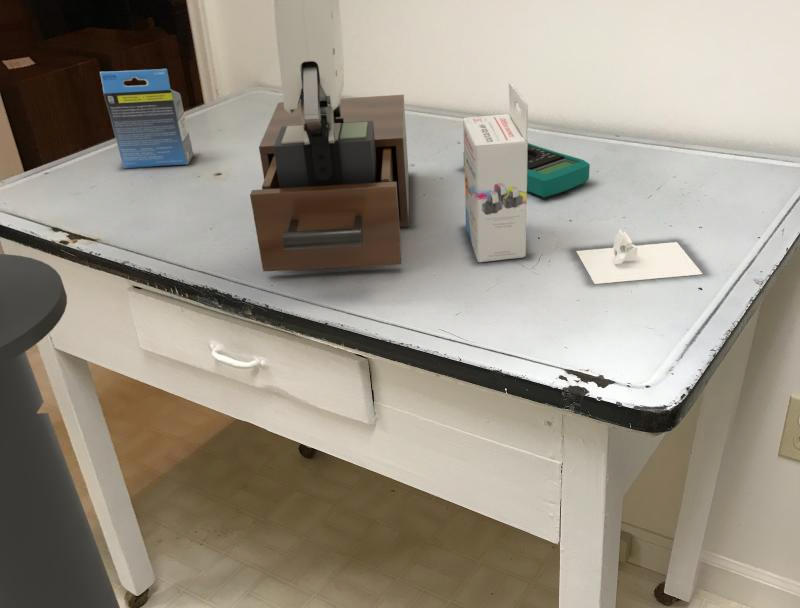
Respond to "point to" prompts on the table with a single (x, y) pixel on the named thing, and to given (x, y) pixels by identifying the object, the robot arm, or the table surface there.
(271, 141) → the cabinet
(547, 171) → the digital multimeter
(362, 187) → the drawer
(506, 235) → the ink box
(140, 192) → the table surface
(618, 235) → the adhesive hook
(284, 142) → the grey rectangular box
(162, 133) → the label tape box
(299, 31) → the robot arm
